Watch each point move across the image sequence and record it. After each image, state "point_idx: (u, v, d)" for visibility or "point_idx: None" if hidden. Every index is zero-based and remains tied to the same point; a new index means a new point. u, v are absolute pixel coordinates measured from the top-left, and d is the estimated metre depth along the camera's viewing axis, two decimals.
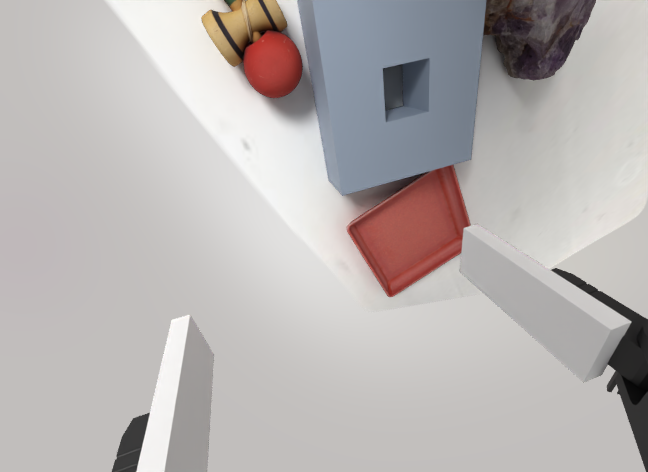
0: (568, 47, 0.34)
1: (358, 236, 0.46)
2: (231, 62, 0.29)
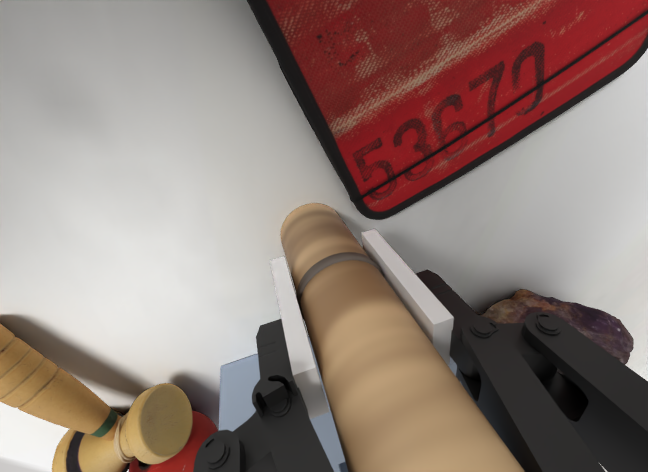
0: None
1: None
2: None
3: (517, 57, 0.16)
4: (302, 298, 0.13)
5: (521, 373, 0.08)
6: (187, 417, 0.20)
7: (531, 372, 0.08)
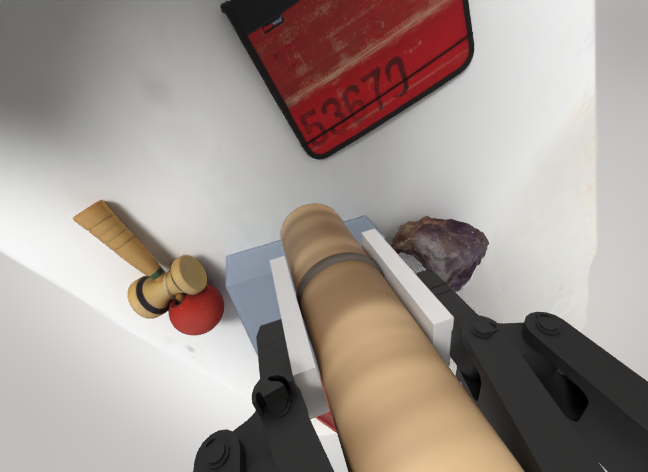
0: (469, 274, 0.39)
1: None
2: None
3: (387, 64, 0.29)
4: (302, 298, 0.13)
5: (521, 373, 0.08)
6: (204, 278, 0.34)
7: (531, 372, 0.08)
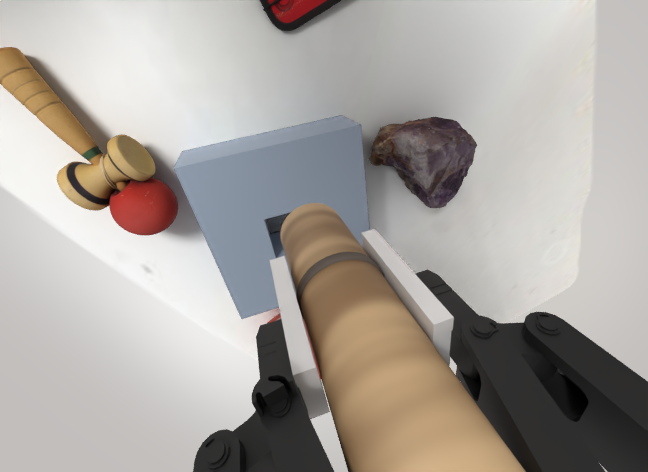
0: (455, 185, 0.36)
1: None
2: (95, 209, 0.29)
3: None
4: (302, 298, 0.13)
5: (521, 373, 0.08)
6: (151, 168, 0.29)
7: (531, 372, 0.08)
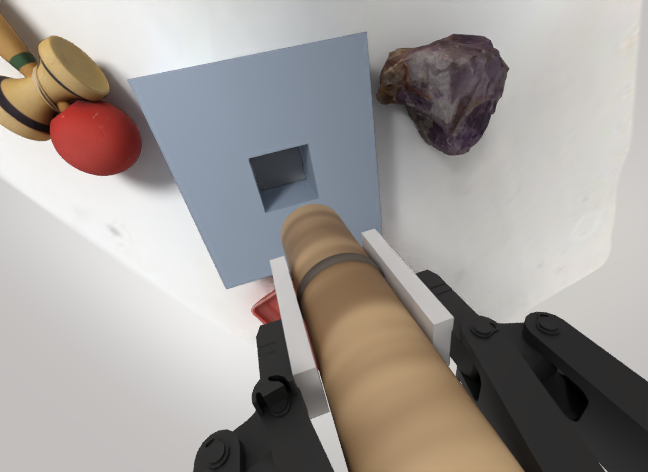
0: (481, 123, 0.29)
1: (271, 313, 0.41)
2: (33, 138, 0.23)
3: None
4: (302, 299, 0.13)
5: (521, 373, 0.08)
6: (104, 87, 0.23)
7: (531, 372, 0.08)
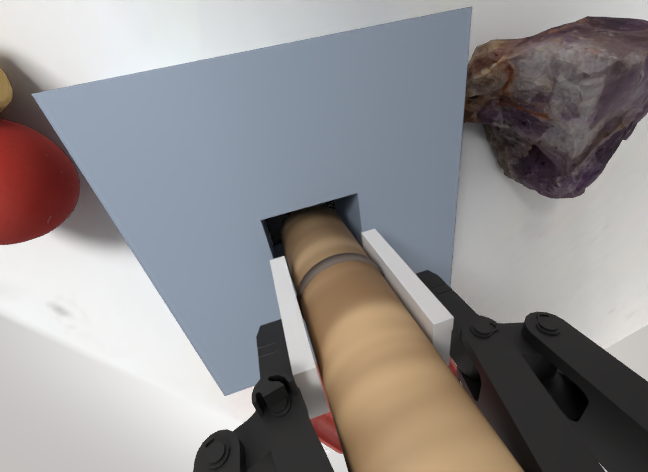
0: (610, 155, 0.19)
1: None
2: None
3: None
4: (302, 299, 0.13)
5: (521, 373, 0.08)
6: None
7: (531, 372, 0.08)
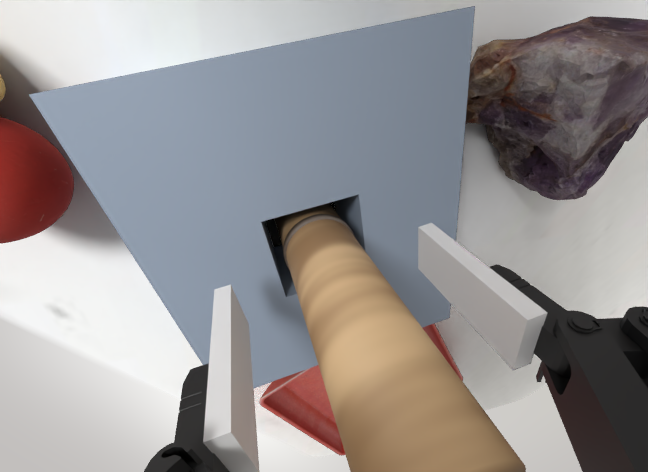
0: (613, 156, 0.19)
1: (286, 395, 0.31)
2: None
3: None
4: (287, 249, 0.16)
5: (623, 374, 0.08)
6: None
7: (636, 375, 0.08)
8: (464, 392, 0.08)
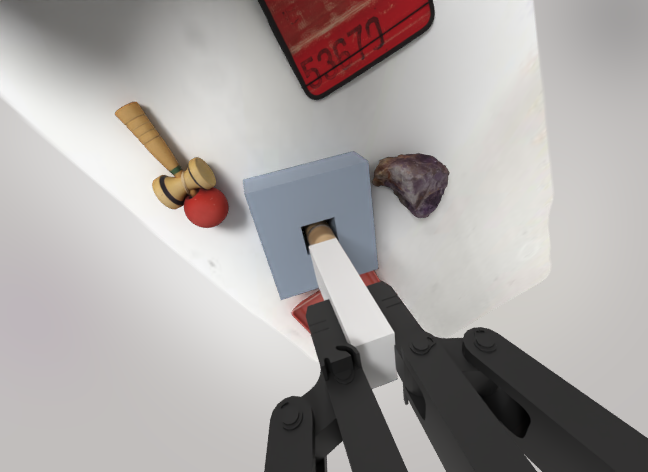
0: (435, 201, 0.49)
1: (303, 314, 0.60)
2: (174, 208, 0.41)
3: (366, 22, 0.38)
4: (309, 236, 0.45)
5: (460, 387, 0.08)
6: (213, 180, 0.41)
7: (469, 384, 0.08)
8: None
